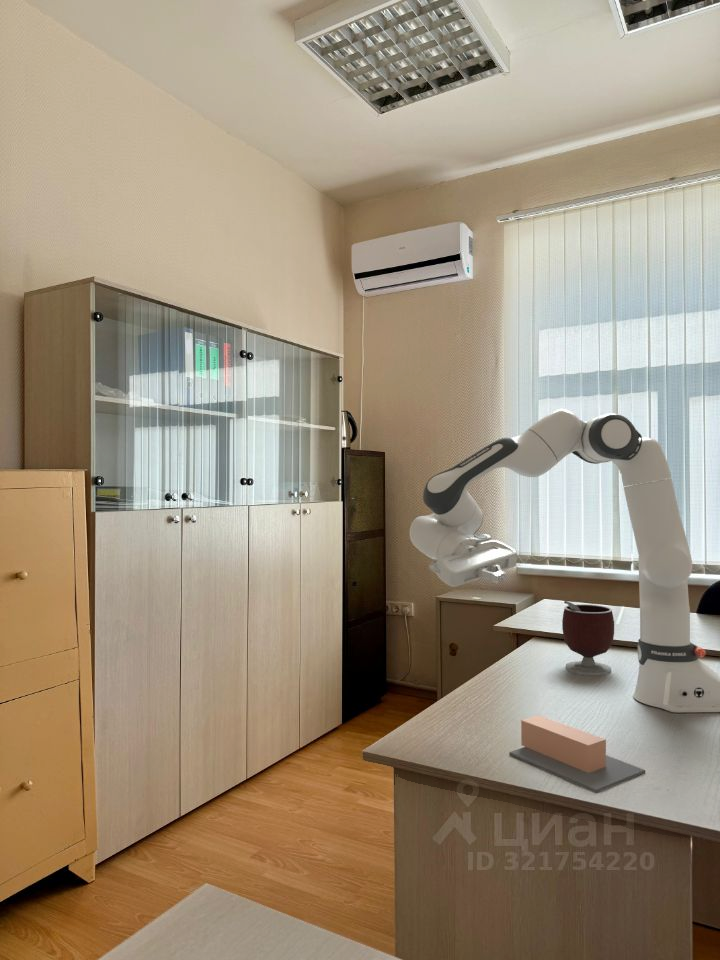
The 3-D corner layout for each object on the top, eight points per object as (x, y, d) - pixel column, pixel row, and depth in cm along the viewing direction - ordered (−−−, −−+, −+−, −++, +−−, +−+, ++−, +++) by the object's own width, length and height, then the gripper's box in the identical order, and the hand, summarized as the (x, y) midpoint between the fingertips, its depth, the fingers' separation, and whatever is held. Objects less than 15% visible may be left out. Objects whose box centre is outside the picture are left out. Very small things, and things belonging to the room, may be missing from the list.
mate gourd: (588, 660, 204) (587, 592, 204) (625, 671, 191) (625, 599, 191) (547, 667, 197) (547, 596, 197) (584, 679, 184) (583, 604, 184)
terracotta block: (521, 720, 138) (588, 745, 124) (538, 715, 140) (605, 739, 127) (521, 745, 138) (588, 773, 124) (538, 739, 140) (605, 766, 127)
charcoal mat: (509, 754, 134) (509, 752, 134) (557, 739, 142) (557, 736, 142) (596, 792, 118) (596, 789, 118) (645, 772, 126) (645, 769, 126)
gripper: (425, 552, 155) (467, 578, 144) (492, 532, 166) (535, 554, 155) (424, 577, 157) (464, 604, 146) (490, 555, 168) (532, 579, 157)
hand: (501, 578), depth 151 cm, fingers closed
